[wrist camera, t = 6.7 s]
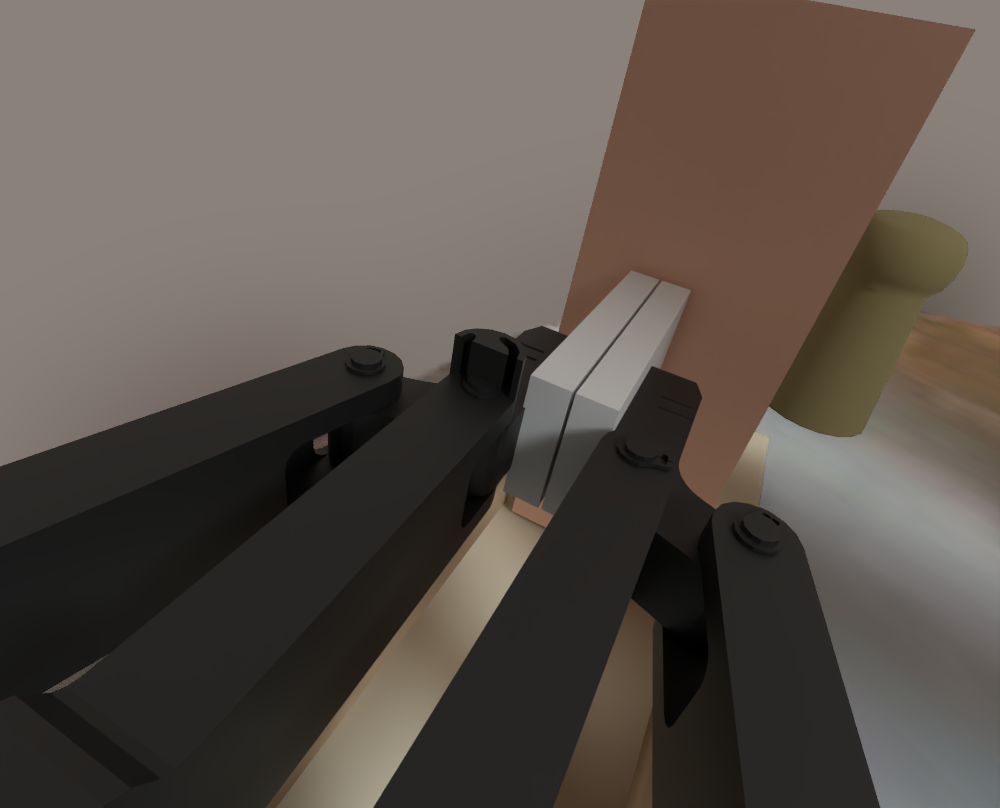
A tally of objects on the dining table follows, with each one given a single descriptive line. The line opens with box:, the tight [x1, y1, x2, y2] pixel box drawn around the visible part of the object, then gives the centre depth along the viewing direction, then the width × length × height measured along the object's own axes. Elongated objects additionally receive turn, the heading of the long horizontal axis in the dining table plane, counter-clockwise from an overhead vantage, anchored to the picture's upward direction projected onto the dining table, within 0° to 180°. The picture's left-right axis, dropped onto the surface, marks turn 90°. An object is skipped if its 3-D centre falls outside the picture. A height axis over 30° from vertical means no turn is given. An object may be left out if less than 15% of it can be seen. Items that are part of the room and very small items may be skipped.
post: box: [512, 0, 975, 528], centre depth 18 cm, size 6×6×16 cm
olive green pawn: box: [769, 210, 968, 437], centre depth 30 cm, size 6×6×11 cm
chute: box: [266, 432, 769, 808], centre depth 20 cm, size 24×11×4 cm, turn 153°
